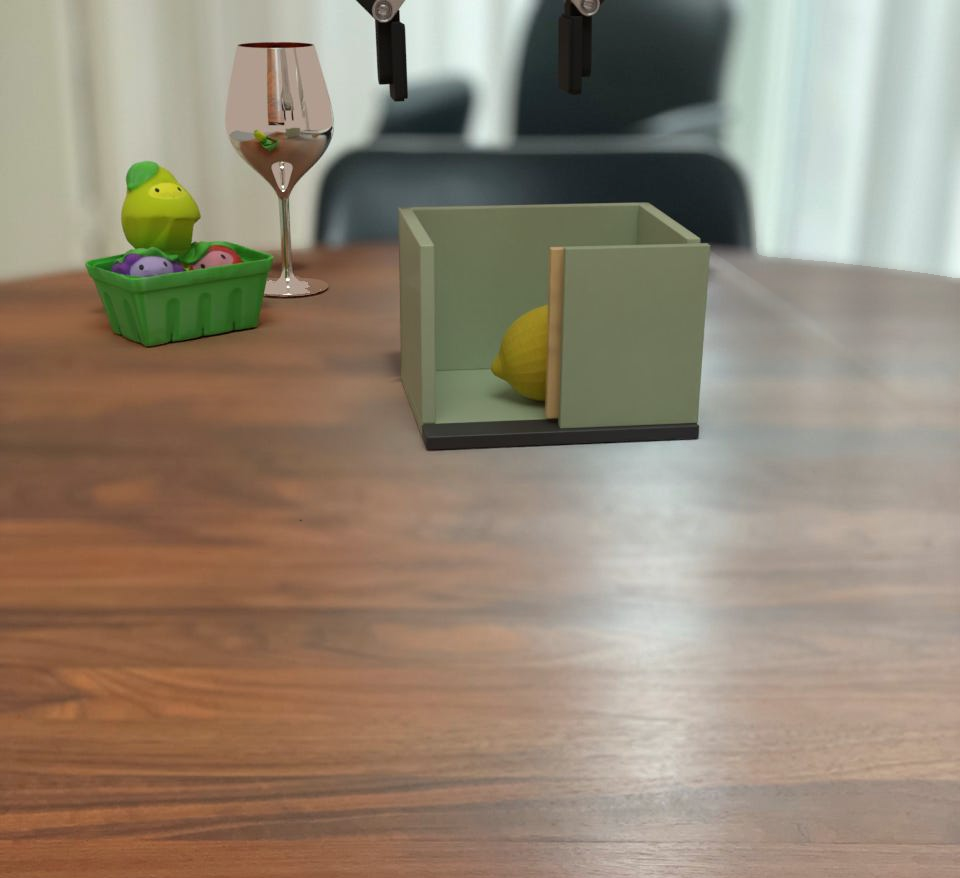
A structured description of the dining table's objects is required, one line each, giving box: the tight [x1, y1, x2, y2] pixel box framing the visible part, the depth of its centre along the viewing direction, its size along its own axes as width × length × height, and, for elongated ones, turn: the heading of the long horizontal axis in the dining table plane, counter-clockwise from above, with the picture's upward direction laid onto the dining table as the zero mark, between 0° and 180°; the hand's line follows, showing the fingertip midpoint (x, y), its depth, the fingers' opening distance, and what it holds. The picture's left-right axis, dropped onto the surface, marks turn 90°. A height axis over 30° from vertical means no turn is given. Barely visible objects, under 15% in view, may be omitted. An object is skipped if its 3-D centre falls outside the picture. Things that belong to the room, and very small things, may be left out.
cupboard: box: [397, 201, 711, 451], centre depth 88 cm, size 16×14×11 cm
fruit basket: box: [84, 160, 274, 347], centre depth 105 cm, size 11×9×11 cm
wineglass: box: [224, 41, 335, 296], centre depth 115 cm, size 8×8×18 cm
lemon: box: [491, 305, 548, 401], centre depth 88 cm, size 6×6×8 cm
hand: (484, 95), depth 83 cm, fingers open, 9 cm apart
